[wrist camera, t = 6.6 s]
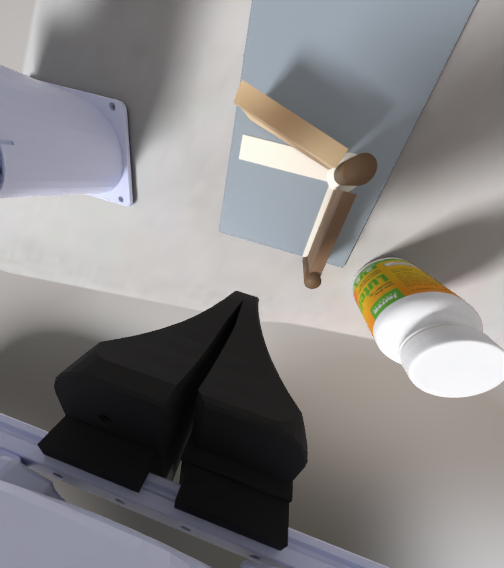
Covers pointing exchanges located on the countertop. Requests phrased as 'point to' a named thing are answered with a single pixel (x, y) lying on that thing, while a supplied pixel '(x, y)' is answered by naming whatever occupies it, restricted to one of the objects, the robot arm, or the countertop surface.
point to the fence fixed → (336, 214)
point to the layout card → (331, 107)
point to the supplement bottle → (427, 329)
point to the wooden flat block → (289, 127)
